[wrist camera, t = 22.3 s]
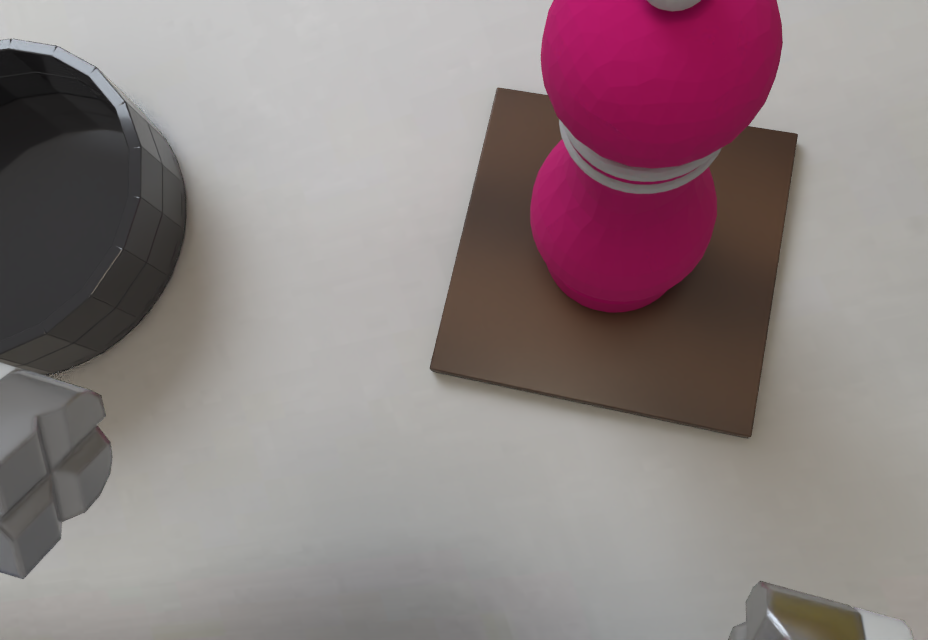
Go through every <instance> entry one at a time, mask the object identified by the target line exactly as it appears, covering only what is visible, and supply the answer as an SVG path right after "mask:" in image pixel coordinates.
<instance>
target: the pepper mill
mask: <svg viewBox="0 0 928 640" xmlns="http://www.w3.org/2000/svg"><path fill="white" fill-rule="evenodd" d="M782 43H783V41H782V24H781V18H780V13H779V9H778V5H777V0H554V1H553V3H552V5H551V7H550V9H549V12H548V16H547V20H546V25H545V29H544V34H543V38H542V48H541V67H542V75H543V81H544V86H545V89H546V91H547V94H548V96H549V98H550V101H551V103H552V106H553V108H554V111H555V113H556V115H557V117H558V118H559V127H560V132H561V137H562V140H561V141H560V142H559V143H558V144H557V145H556V146H555V147H554V148H553V149H552V151H551V152H550V154H549V155H548V156H547V158H546V160H545V161H544V163H543V165H542V166H541V168H540V170H539V171H538V174H537V177H536V181H535V184H534V187H533V192H532V199H531V206H530V224H531V229H532V234H533V238H534V241H535V243H536V246H537V249H538V251H539V252H540V254H541V256H542V258H543V260H544V261H545V263H546V265H547V267H548V270H549V272H550V274H551V276H552V278H553V279H554V281H555V283H556V284H557V286H558V287H559V288H560V289H561V290H562V291H563V292H564V293H565V294H566V295H567V296H568V297H570V298H571V299H573V300H575V301H576V302H578V303H579V304H581V305H583V306H585V307H588V308H590V309H593V310H599V311H604V312H612V313H617V312H627V311H632V310H636V309H639V308H642V307H644V306H646V305H649V304H651V303H652V302H654V301H655V300H657V299H658V298H660V297H661V296H662V295H663V294H664V293H665V292H666V291H667V290H668V289H670V288H672V287H673V286H675V285H676V284H677V283H679V282H680V281H682V280H683V279H684V278H685V277H686V276H687V275H688V274H689V273H691V272H692V270H693V269H694V268H695V267H696V265H697V264H698V263H699V261H700V260H701V259H702V257H703V255H704V253H705V251H706V249H707V247H708V244H709V242H710V239H711V236H712V232H713V229H714V225H715V221H716V217H717V196H716V191H715V186H714V181H713V178H712V175H711V172H710V168H709V166H710V165H711V163H712V162H713V161H714V160H715V158H716V157H717V156H718V154H719V153H720V151H721V149H722V147H724V146H726V145H727V144H729V143H731V142H732V141H733V140H734V139H735V138H736V137H737V136H738V135H739V134H740V133H741V132H742V131H743V130H744V129H745V128H746V127H747V126H748V125H749V124H750V123H751V122H752V120H753V119H754V117H755V116H756V115H757V113H758V112H759V110H760V109H761V108H762V106H763V105H764V104H765V102H766V99H767V97H768V95H769V92H770V90H771V87H772V85H773V83H774V80H775V77H776V73H777V70H778V66H779V62H780V56H781V50H782Z"/></svg>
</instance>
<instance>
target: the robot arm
mask: <svg viewBox="0 0 928 640" xmlns="http://www.w3.org/2000/svg"><path fill="white" fill-rule="evenodd" d="M105 416H106V414H105V410H104V406H103V401H102V397H101V395H99V394H97V393H95V392H93V391H91V390H89V389H86V388H82V387H79V386H76V385H73V384H70V383H67V382H63V381H60V380H57V379H54V378H51V377H48V376H44V375H41V374H38V373H35V372H32V371H29V370H25V369H20V368H17V367H14V366H11V365H7V364H4V363H1V362H0V572H1V573H4V574H8V575H11V576H14V577H18V578H21V579H24V578H25V577H26V576H27V575H28V574H29V573H30V571H31V570H32V569H33V568H34V567H35V566H36V565H37V564H38V563H39V562H40V561H41V560H42V559H43V557H44V556H45V555H46V554H47V553H48V552H49V551H50V550H51V549H52V548H53V547H54V546H55V544H56V543H57V542H58V541H59V540H60V539H61V532H62V522H63V521H65V520H68V519H70V518H73V517H75V516H77V515H80V514H82V513H85V512H86V511H87V510H88V508H89V507H90V506H91V505H92V504H93V503H94V502H95V500H96V499H97V498H98V497H99V496H100V494H101V492H102V490H103V488H104V486H105V484H106V482H107V480H108V477H109V475H110V471H111V464H112V450H111V444H110V441H109V440H108V439H107V437H106V436H105V435H104V434H103V432H102V431H101V430H100V428H99V427H98V426H97V425H98V424H99V423H100V422H101V421H102V420H103V418H104V417H105ZM728 640H914V639H913V635H912V631H911V629H910V628H909V626H908V625H907V624H906V622H905V621H904V620H900V619H896V618H893V617H889V616H886V615H882V614H878V613H875V612H871V611H868V610H864V609H860V608H857V607H854V608H852V607H851V606H850V605H847V604H843V603H839V602H836V601H832V600H828V599H825V598H821V597H817V596H814V595H810V594H807V593H803V592H799V591H796V590H792V589H788V588H785V587H781V586H777V585H774V584H770V583H767V582H763V581H759V582H758V583H757V584H756V585H755V586H754V587H753V589H752V591H751V592H750V594H749V596H748V598H747V600H746V622H744V623H742V624H739V625H737V626H734V627H733V629H732V631H731V633H730V636H729V638H728Z"/></svg>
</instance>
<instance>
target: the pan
mask: <svg viewBox="0 0 928 640" xmlns="http://www.w3.org/2000/svg"><path fill="white" fill-rule="evenodd" d="M185 220H186V197H185V190H184V184H183V178H182V175H181V172H180V169H179V165H178V162H177V160H176V158H175V156H174V154H173V151H172V149H171V147H170V145H169V144H168V142H167V141H166V139H165V138H164V137H163V135H162V134H161V132H160V131H159V130H158V129H157V128H156V127H155V126H154V124H153V123H152V122H151V121H150V120H149V119H148V118H147V117H146V115H145V114H144V113H143V112H142V111H141V109H140V108H138V107H137V106H136V105H135V104H134V103H133V102H132V101H131V100H130V99H129V98H128V97H127V96H126V95H125V94H124V93H123V92H122V91H121V90H120V89H119V88H118V87H117V86H116V85H115V84H114V83H113V82H112V81H111V80H110V79H109V78H108V77H106V76H105V75H104V74H103V73H102V72H101V71H100V70H99V69H98V68H97V67H95V66H94V65H92V64H90V63H88V62H86V61H84V60H83V59H81V58H79V57H77V56H75V55H74V54H72V53H70V52H68V51H66V50H64V49H63V48H61V47H59V46H55V45H48V44H42V43H36V42H30V41H23V40H17V39H5V40H0V362H1V363H4V364H7V365H11V366H14V367H17V368H20V369H25V370H29V371H32V372H35V373H38V374H41V375H47V374H51V373H54V372H58V371H62V370H66V369H68V368H71V367H73V366H76V365H78V364H81V363H83V362H85V361H87V360H89V359H91V358H93V357H94V356H96V355H98V354H100V353H102V352H103V351H105V350H106V349H108V348H109V347H111V346H112V345H113V344H115V343H116V342H118V341H119V340H120V339H121V338H123V337H124V336H125V335H126V334H127V333H128V332H129V331H130V330H131V329H132V328H134V327H135V326H136V325H137V324H138V322H139V321H140V320H141V319H142V318H143V317H144V316H145V314H146V313H147V312H148V311H149V310H150V309H151V307H152V306H153V304H154V303H155V301H156V300H157V298H158V297H159V296H160V294H161V293H162V291H163V289H164V287H165V285H166V283H167V281H168V280H169V278H170V276H171V274H172V271H173V269H174V266H175V264H176V261H177V258H178V256H179V252H180V248H181V244H182V240H183V236H184V228H185Z"/></svg>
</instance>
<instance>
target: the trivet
mask: <svg viewBox="0 0 928 640" xmlns="http://www.w3.org/2000/svg"><path fill="white" fill-rule="evenodd" d="M797 137H798V134H795V133H789V132H782V131H776V130H769V129H763V128H756V127H750V126H747V127H746V128H745V129H744V130H743V131H742V132H741V133H740V134H739V135H738V136H737V137H736V138H735V139H734V140H733V141H732V142H731V143H729V144H727V145H726V146H724V147H722V149H721V151H720V153H719V154H718V156H717V157H716V158H715V160H714V161H713V162H712V163H711V165H710V166H709V168H710V172H711V175H712V178H713V181H714V186H715V191H716V196H717V217H716V221H715V225H714V229H713V232H712V236H711V239H710V242H709V244H708V247H707V249H706V251H705V253H704V255H703V257H702V259H701V260H700V261H699V263H698V264H697V265H696V267H695V268H694V269H693V270H692V272H691V273H689V274H688V275H687V276H686V277H685V278H684V279H683V280H682V281H680V282H679V283H677V284H676V285H675V286H673V287H672V288H670V289H668V290H667V291H666V292H665V293H664V294H663V295H662V296H661V297H660V298H658V299H657V300H655V301H654V302H652V303H651V304H649V305H646V306H644V307H642V308H639V309H636V310H632V311H627V312H617V313H612V312H604V311H599V310H593V309H590V308H588V307H585V306H583V305H581V304H579V303H578V302H576V301H575V300H573V299H571V298H570V297H568V296H567V295H566V294H565V293H564V292H563V291H562V290H561V289H560V288H559V287H558V286H557V284H556V283H555V281H554V279H553V278H552V276H551V274H550V272H549V270H548V267H547V265H546V263H545V261H544V260H543V258H542V256H541V254H540V252H539V251H538V249H537V246H536V243H535V241H534V238H533V234H532V229H531V224H530V206H531V199H532V192H533V187H534V184H535V181H536V177H537V174H538V171H539V170H540V168H541V166H542V165H543V163H544V161H545V160H546V158H547V156H548V155H549V154H550V152H551V151H552V149H553V148H554V147H555V146H556V145H557V144H558V143H559V142H560V141H561V140H562V137H561V132H560V127H559V118H558V117H557V115H556V113H555V111H554V108H553V106H552V103H551V101H550V98H549V96H548V95H543V94H536V93H530V92H523V91H517V90H510V89H504V88H497V90H496V94H495V98H494V102H493V106H492V111H491V115H490V119H489V123H488V127H487V131H486V136H485V140H484V144H483V148H482V152H481V156H480V161H479V165H478V169H477V173H476V177H475V181H474V186H473V190H472V194H471V198H470V202H469V206H468V211H467V215H466V219H465V223H464V227H463V231H462V236H461V240H460V244H459V248H458V252H457V256H456V261H455V265H454V269H453V273H452V277H451V281H450V286H449V290H448V294H447V298H446V302H445V306H444V311H443V315H442V319H441V323H440V327H439V331H438V336H437V340H436V344H435V348H434V352H433V356H432V361H431V365H430V369H431V371H434V372H438V373H443V374H448V375H453V376H457V377H462V378H467V379H471V380H476V381H481V382H485V383H490V384H495V385H500V386H504V387H509V388H514V389H518V390H523V391H528V392H532V393H537V394H542V395H547V396H551V397H556V398H561V399H565V400H570V401H575V402H580V403H584V404H589V405H594V406H598V407H603V408H608V409H612V410H617V411H622V412H627V413H631V414H636V415H641V416H645V417H650V418H655V419H660V420H664V421H669V422H674V423H678V424H683V425H688V426H692V427H697V428H702V429H707V430H711V431H716V432H721V433H725V434H730V435H735V436H739V437H744V438H749V437H751V435H752V429H753V422H754V416H755V409H756V403H757V396H758V390H759V383H760V377H761V370H762V364H763V357H764V351H765V344H766V338H767V332H768V325H769V319H770V312H771V306H772V299H773V293H774V286H775V280H776V273H777V267H778V260H779V254H780V247H781V241H782V234H783V228H784V221H785V215H786V208H787V202H788V196H789V189H790V183H791V176H792V170H793V163H794V157H795V150H796V144H797Z"/></svg>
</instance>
